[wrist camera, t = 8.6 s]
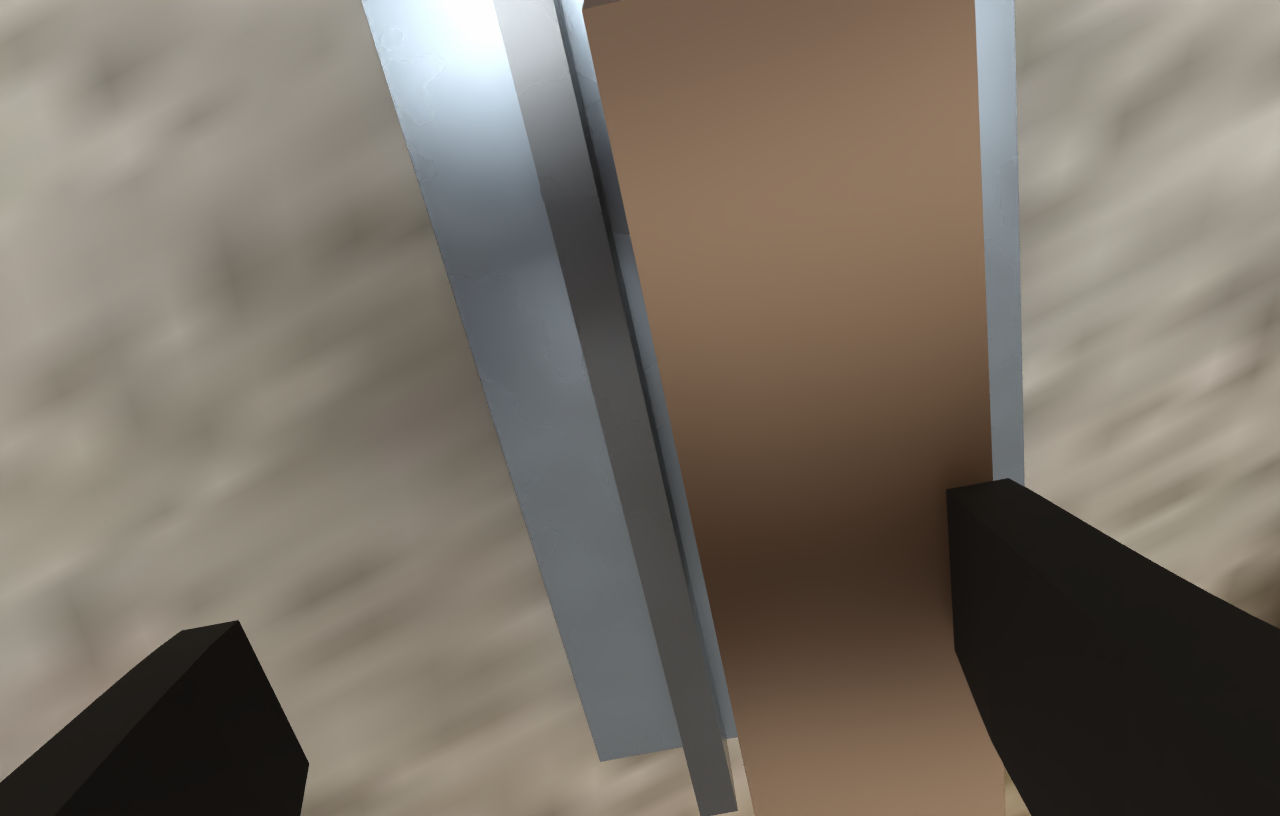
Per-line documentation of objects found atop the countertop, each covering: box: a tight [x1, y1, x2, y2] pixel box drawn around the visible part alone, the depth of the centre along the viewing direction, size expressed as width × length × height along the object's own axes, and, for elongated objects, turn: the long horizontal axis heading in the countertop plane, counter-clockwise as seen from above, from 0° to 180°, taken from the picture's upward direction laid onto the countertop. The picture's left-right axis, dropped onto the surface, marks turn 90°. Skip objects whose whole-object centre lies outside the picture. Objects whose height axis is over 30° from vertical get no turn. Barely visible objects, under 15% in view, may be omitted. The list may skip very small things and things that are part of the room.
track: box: [361, 0, 1025, 816], centre depth 17 cm, size 20×10×3 cm, turn 12°
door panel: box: [582, 0, 1006, 816], centre depth 13 cm, size 12×3×8 cm, turn 12°
